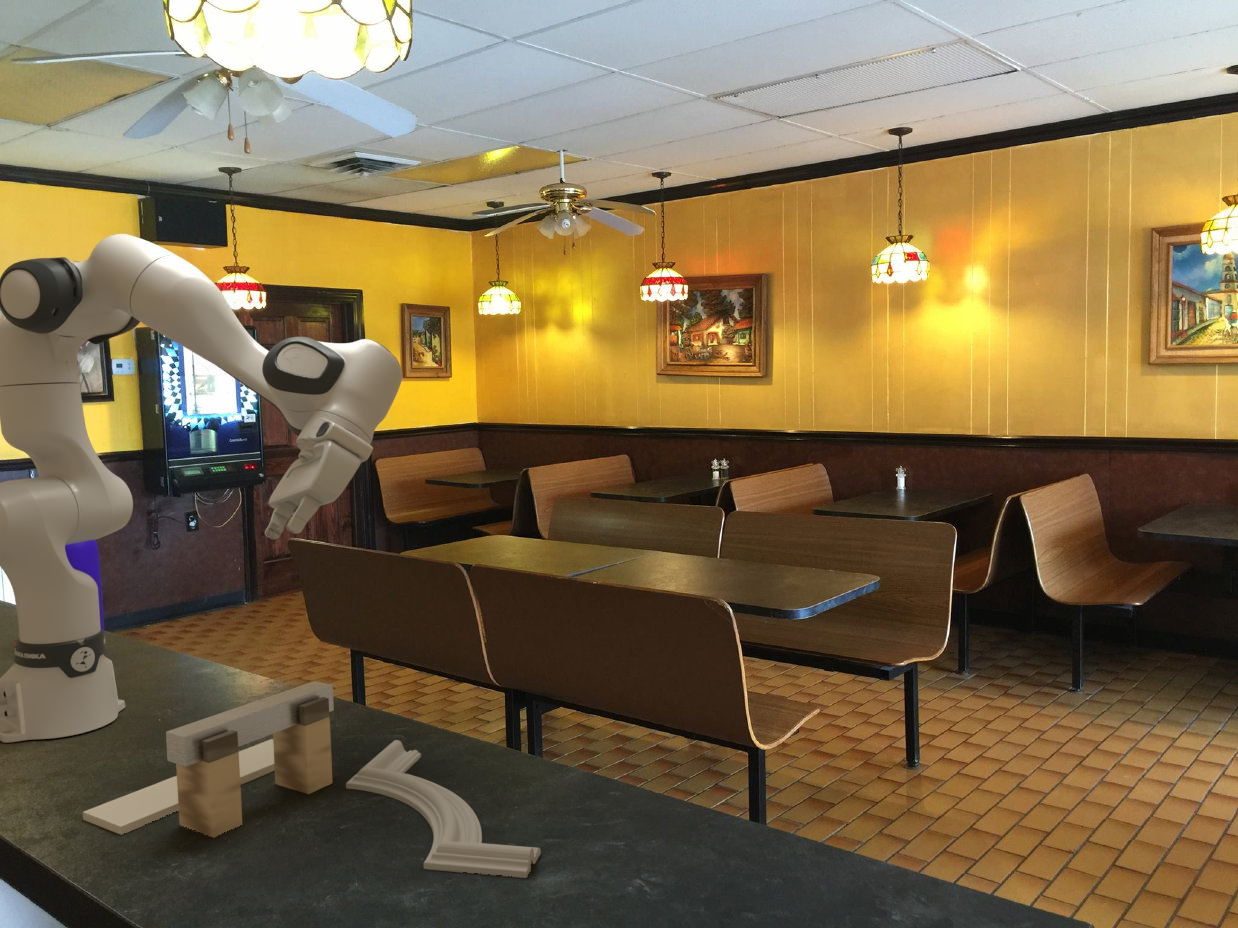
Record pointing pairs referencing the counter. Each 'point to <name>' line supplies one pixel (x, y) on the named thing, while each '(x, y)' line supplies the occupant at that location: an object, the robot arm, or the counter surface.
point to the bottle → (87, 565)
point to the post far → (305, 750)
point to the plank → (170, 795)
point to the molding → (442, 818)
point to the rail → (244, 722)
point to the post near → (212, 788)
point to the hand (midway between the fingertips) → (281, 534)
